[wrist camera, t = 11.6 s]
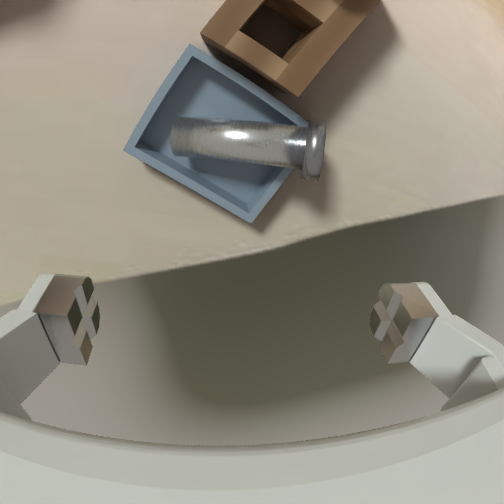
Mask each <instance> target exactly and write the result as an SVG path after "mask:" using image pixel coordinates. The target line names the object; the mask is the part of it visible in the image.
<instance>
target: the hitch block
mask: <svg viewBox="0 0 504 504" xmlns="http://www.w3.org/2000/svg"><path fill="white" fill-rule="evenodd" d="M379 1H380V0H226V1H225V3H224V4H223V5H222V6H221V7H220V8H219V10H218V11H217V12H216V13H215V15H214V16H213V17H212V18H211V19H210V21H209V22H208V23H207V24H206V26H205V27H204V28H203V30H202V31H201V32H200V34H201V36H202V39H203V41H204V42H206V43H208V44H209V45H211V46H213V47H215V48H216V49H218V50H220V51H221V52H223V53H225V54H226V55H228V56H229V57H231V58H233V59H234V60H236V61H237V62H239V63H240V64H242V65H244V66H245V67H247V68H248V69H250V70H251V71H253V72H254V73H256V74H257V75H259V76H260V77H262V78H263V79H265V80H266V81H267V82H269V83H270V84H272V85H273V86H275V87H276V88H277V89H279V90H280V91H282V92H283V93H286V94H290V95H293V96H296V97H299V96H300V95H301V93H302V92H303V91H304V90H305V88H306V87H307V86H308V85H309V83H310V82H311V81H312V80H313V78H314V77H315V76H316V75H317V73H318V72H319V71H320V70H321V69H322V67H323V66H324V65H325V64H326V63H327V61H328V60H329V59H330V58H331V56H332V55H333V54H334V53H335V52H336V51H337V49H338V48H339V47H340V46H341V45H342V43H343V42H344V41H345V40H346V39H347V38H348V36H349V35H350V34H351V33H352V32H353V31H354V29H355V28H356V27H357V26H358V25H359V24H360V23H361V21H362V20H363V19H364V18H365V17H366V16H367V15H368V14H369V12H370V11H371V10H372V9H373V8H374V7H375V6H376V5H377V4H378V2H379ZM263 4H265V5H266V6H268V7H269V8H271V9H272V10H274V11H275V12H277V13H278V14H280V15H281V16H283V17H284V18H286V19H287V20H289V21H290V22H291V23H293V24H294V25H296V26H297V27H298V28H300V29H301V30H302V31H303V32H302V33H301V35H300V36H299V37H298V38H297V39H296V41H295V42H294V43H293V44H292V45H291V46H290V48H289V49H288V50H287V51H286V53H285V54H284V55H283V56H282V57H281V58H280V57H278V56H277V55H275V54H274V53H273V52H271V51H270V50H268V49H267V48H265V47H264V46H262V45H261V44H259V43H258V42H256V41H255V40H253V39H252V38H250V37H249V36H247V35H245V34H244V33H242V32H241V30H242V28H243V27H244V26H245V25H246V24H247V22H248V21H249V20H250V19H251V18H252V17H253V15H254V14H255V13H256V12H257V11H258V10H259V8H260V7H261V6H262V5H263Z"/></svg>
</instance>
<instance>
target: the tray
mask: <svg viewBox="0 0 504 504" xmlns="http://www.w3.org/2000/svg"><path fill="white" fill-rule="evenodd" d="M178 117H202V118H221V119H236V120H248V121H259V122H269V123H278V124H286V125H294V126H301V127H308V122H307V121H306V120H305V119H303V118H302V117H301V116H299V115H298V114H297V113H295V112H294V111H293V110H291V109H290V108H289V107H287V106H286V105H285V104H283V103H282V102H280V101H279V100H278V99H276V98H275V97H273V96H272V95H270V94H269V93H268V92H266V91H265V90H263V89H262V88H260V87H259V86H257V85H256V84H254V83H253V82H251V81H250V80H248V79H247V78H245V77H244V76H242V75H241V74H239V73H238V72H236V71H235V70H233V69H231V68H230V67H228V66H227V65H225V64H223V63H222V62H220V61H218V60H217V59H215V58H214V57H212V56H210V55H208V54H207V53H205V52H203V51H202V50H200V49H198V48H196V47H195V46H193V45H191V44H189V46H188V47H187V48H186V50H185V51H184V53H183V54H182V55H181V57H180V58H179V60H178V61H177V63H176V64H175V65H174V67H173V68H172V70H171V71H170V73H169V74H168V76H167V77H166V79H165V80H164V82H163V83H162V85H161V86H160V88H159V90H158V91H157V93H156V94H155V96H154V97H153V99H152V101H151V102H150V104H149V106H148V107H147V109H146V111H145V112H144V114H143V116H142V117H141V119H140V121H139V123H138V124H137V126H136V128H135V130H134V131H133V133H132V135H131V137H130V139H129V140H128V142H127V144H126V146H125V148H124V150H123V151H125V152H127V153H128V154H130V155H132V156H134V157H136V158H137V159H139V160H141V161H143V162H144V163H146V164H148V165H150V166H152V167H153V168H155V169H157V170H159V171H160V172H162V173H164V174H166V175H168V176H169V177H171V178H173V179H175V180H176V181H178V182H180V183H182V184H183V185H185V186H187V187H189V188H190V189H192V190H194V191H196V192H197V193H199V194H201V195H202V196H204V197H206V198H208V199H209V200H211V201H213V202H215V203H216V204H218V205H220V206H221V207H223V208H225V209H227V210H228V211H230V212H232V213H233V214H235V215H237V216H239V217H240V218H242V219H244V220H245V221H247V222H249V223H250V224H251V223H252V222H253V221H254V219H255V218H256V217H257V215H258V214H259V213H260V212H261V210H262V209H263V208H264V206H265V205H266V204H267V202H268V201H269V200H270V199H271V197H272V196H273V195H274V193H275V192H276V191H277V190H278V188H279V187H280V186H281V185H282V183H283V182H284V181H285V179H286V178H287V177H288V176H289V174H290V173H291V172H292V170H293V169H294V168H287V167H279V166H272V165H264V164H255V163H246V162H237V161H227V160H217V159H205V158H193V157H179V156H175V155H174V154H173V153H172V150H171V143H170V138H171V130H172V126H173V124H174V122H175V120H176V119H177V118H178Z"/></svg>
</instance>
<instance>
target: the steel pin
mask: <svg viewBox="0 0 504 504" xmlns="http://www.w3.org/2000/svg"><path fill="white" fill-rule="evenodd" d="M325 138H326V122H324V121H317V120H310V119H309V121H308V127H301V126H294V125H286V124H278V123H269V122H259V121H248V120H236V119H221V118H202V117H178V118H177V119H176V120H175V122H174V124H173V126H172V130H171V138H170V143H171V150H172V153H173V154H174V155H175V156H179V157H193V158H205V159H217V160H227V161H237V162H246V163H255V164H264V165H272V166H279V167H287V168H294V169H301V170H302V177H301V178H304V179H311V180H317V181H318V180H319V177H320V173H321V168H322V162H323V155H324V147H325Z"/></svg>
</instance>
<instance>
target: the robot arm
mask: <svg viewBox="0 0 504 504" xmlns="http://www.w3.org/2000/svg"><path fill="white" fill-rule="evenodd" d="M93 291H94V287H93V283H92V279H91V278H89V277H87V276H76V275H64V274H51V273H42V274H40V275H39V276H38V278H37V279H36V281H35V282H34V284H33V285H32V287H31V289H30V290H29V292H28V293H27V295H26V296H25V298H24V300H23V301H22V303H21V305H20V306H19V308H18V310H12V311H10V312H9V313H7V314H6V315H4V316H2V317H1V318H0V504H504V346H503V345H502V344H500V343H499V342H497V341H496V340H494V339H492V338H491V337H490V336H488V335H487V334H485V333H484V332H482V331H480V330H479V329H477V328H476V327H474V326H472V325H471V324H469V323H468V322H466V321H465V320H463V319H461V318H460V317H458V316H456V315H452V314H451V313H450V311H449V310H448V309H447V307H446V306H445V305H444V303H443V302H442V301H441V300H440V298H439V297H438V295H437V294H436V293H435V291H434V290H433V289H432V287H431V286H430V285H429V284H427V283H426V282H415V283H402V284H401V283H399V284H398V283H397V284H384V285H383V286H382V287H381V289H380V292H379V294H378V295H379V298H380V301H379V302H378V303H377V304H375V305H374V306H373V309H372V311H371V314H370V327H371V331H372V333H373V335H374V337H376V338H377V339H378V340H380V341H381V343H380V347H379V348H380V350H381V352H382V354H383V356H384V358H385V360H386V363H387V364H391V363H399V362H407V361H410V363H411V364H412V365H413V366H414V367H415V368H416V369H418V370H419V371H420V372H421V373H422V374H423V375H424V376H425V377H426V378H427V379H428V380H430V381H431V382H432V383H433V384H434V385H435V386H436V387H437V388H438V389H439V390H440V391H442V392H443V393H444V394H445V395H446V396H447V397H448V398H449V400H448V401H447V402H446V403H445V404H444V405H443V407H442V409H441V412H438V413H434V414H431V415H428V416H425V417H421V418H418V419H414V420H410V421H407V422H403V423H399V424H395V425H391V426H387V427H382V428H377V429H373V430H368V431H363V432H358V433H352V434H347V435H341V436H335V437H328V438H322V439H313V440H305V441H296V442H286V443H274V444H260V445H259V444H258V445H229V446H228V445H227V446H208V445H206V446H205V445H178V444H163V443H151V442H141V441H132V440H124V439H117V438H110V437H103V436H97V435H92V434H86V433H81V432H76V431H71V430H66V429H62V428H57V427H53V426H50V425H45V424H41V423H38V422H34V421H32V420H31V417H30V416H29V415H28V413H27V412H26V411H25V410H24V409H23V407H22V406H21V405H20V404H21V403H22V402H23V401H24V400H25V399H26V398H27V397H28V396H29V395H30V394H31V393H32V392H33V391H34V390H35V389H36V388H37V387H38V386H39V385H40V384H41V382H42V381H43V380H44V379H45V378H46V377H47V376H48V375H49V374H50V373H51V372H52V371H53V370H54V369H55V368H56V367H57V366H58V365H59V364H60V363H59V362H62V363H70V364H78V365H87V363H88V359H89V356H90V353H91V350H92V344H91V341H90V339H92V338H93V337H94V336H96V335H97V332H98V328H99V322H100V313H99V306H98V302H97V301H96V300H95V299H94V298H93V297H92V293H93Z"/></svg>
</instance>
